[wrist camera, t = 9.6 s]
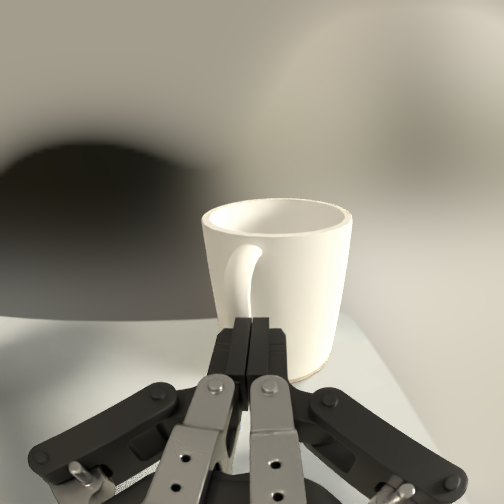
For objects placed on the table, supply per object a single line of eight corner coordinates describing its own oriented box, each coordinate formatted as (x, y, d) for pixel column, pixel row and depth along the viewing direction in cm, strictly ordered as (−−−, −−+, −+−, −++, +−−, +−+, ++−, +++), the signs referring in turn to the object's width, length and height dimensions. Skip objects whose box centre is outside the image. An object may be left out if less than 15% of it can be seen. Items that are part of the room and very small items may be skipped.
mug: (245, 307, 26) (239, 196, 22) (342, 322, 23) (354, 202, 19) (181, 390, 17) (145, 243, 13) (316, 428, 13) (344, 265, 10)
